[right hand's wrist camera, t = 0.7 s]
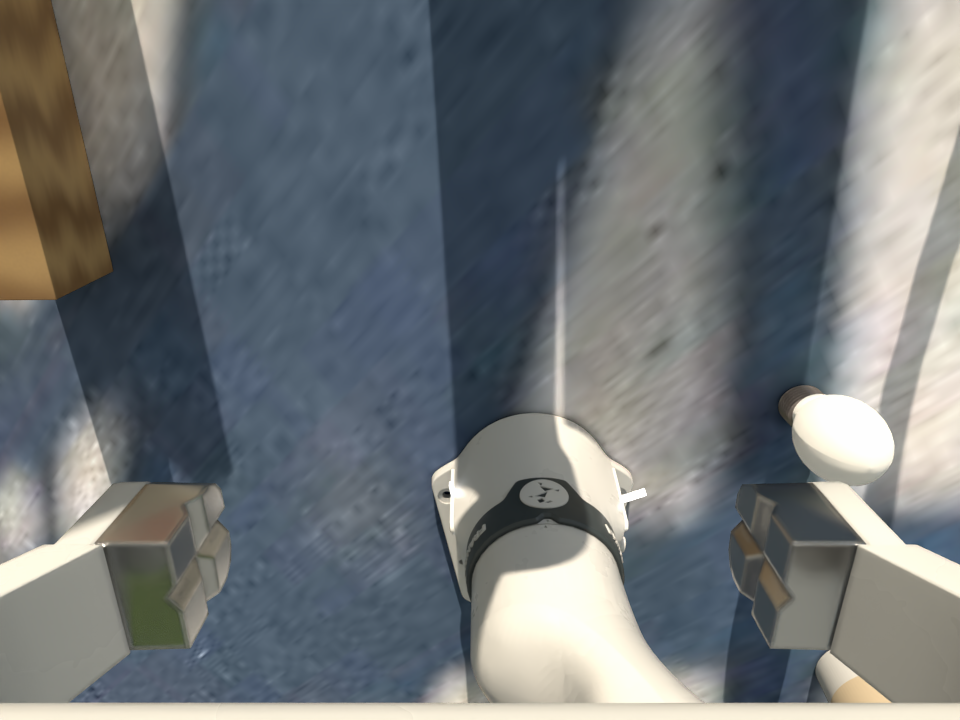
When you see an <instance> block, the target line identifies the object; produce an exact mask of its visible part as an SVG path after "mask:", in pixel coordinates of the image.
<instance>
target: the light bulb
mask: <svg viewBox="0 0 960 720" xmlns="http://www.w3.org/2000/svg"><path fill="white" fill-rule="evenodd" d="M778 408H779V412H780V414H781V416H782V417H783V418H784V419H785V420H786V421H787V422H788V423H789V425H790V426H791V427H792V440H793V444H794V447H795V450H796V452H797V454H798V455H799V457H800V459H801V460H802V462H803V463H804V464H805V465H806V466H807V467H808V468H809V469H810V470H811V471H812V472H813V473H815V474H816V475H818V476H819V477H821V478H823V479H825V480H826V481H829V482H835V481H840V482H842V483H845V484H847V485H849V486H861V485H866V484H869V483H871V482H873V481H875V480H877V479H878V478H880V477H881V476H882V475H883V474H884V473H885V472H886V471H887V470H888V468H889V467H890V465H891V463H892V461H893V457H894V441H893V437H892V433H891V431H890V429H889V427H888V425H887V424H886V422H885V420H884V419H883V418H882V417H881V416H880V415H879V414H878V413H877V412H876V411H875V410H874V409H873V408H871V407H870V406H868V405H867V404H865V403H864V402H862V401H859V400H857V399H854V398H851V397H848V396H842V395H824V394H823V393H822V392H821V391H820V390H819V389H817V388H815V387H813V386H808V385H802V386H797V387H794V388H792V389H790V390H788V391H787V392H786V393H785V394H784V395H783V396H782V397H781V399H780V401H779V406H778Z"/></svg>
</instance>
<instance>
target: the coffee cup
mask: <svg viewBox="0 0 960 720" xmlns="http://www.w3.org/2000/svg"><path fill="white" fill-rule="evenodd" d="M815 673H816V677H817V679H818V681H819V683H820V685H821V687H822V690H823V692H824V694H825V696H826V698H827V700H828V702H829V703H891V702H890V701H889V700H888V699H886V698H885V697H884V696H883V695H881V694H880V693H879V692H878V691H876V690H875V689H874V688H873V687H872V686H870V685H869V684H868V683H867V682H865V681H864V680H863V679H862V678H860V677H859V676H858V675H857V674H855V673H854V672H853V671H852V670H850V669H849V668H848V667H847V666H845V665H844V664H843V663H842V662H840V661H839V660H838V659H837V658H835V657H834V656H833V655H832V654H830V650H829V651H828V652H827V653H825V654H824V655H823V656H822V657H821V658H820V660H819V661H818V663H817V665H816V670H815Z"/></svg>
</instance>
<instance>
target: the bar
mask: <svg viewBox="0 0 960 720" xmlns="http://www.w3.org/2000/svg"><path fill="white" fill-rule="evenodd" d="M111 272H113V268H112V263H111V259H110V255H109V250H108V246H107V242H106V237H105V233H104V229H103V224H102V220H101V216H100V211H99V207H98V203H97V198H96V194H95V190H94V185H93V181H92V177H91V172H90V168H89V164H88V159H87V155H86V151H85V146H84V142H83V138H82V133H81V129H80V125H79V120H78V116H77V112H76V107H75V103H74V99H73V94H72V90H71V85H70V81H69V77H68V72H67V68H66V64H65V59H64V55H63V51H62V46H61V42H60V38H59V33H58V29H57V25H56V20H55V16H54V12H53V7H52V3H51V0H0V300H57V299H59V298H61V297H63V296H65V295H67V294H69V293H71V292H73V291H75V290H77V289H79V288H81V287H83V286H85V285H87V284H89V283H91V282H93V281H95V280H97V279H99V278H101V277H103V276H105V275H107V274H109V273H111Z"/></svg>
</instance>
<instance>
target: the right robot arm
mask: <svg viewBox="0 0 960 720" xmlns="http://www.w3.org/2000/svg"><path fill="white" fill-rule="evenodd" d="M632 487H633V479H632V475H631V473H630V472H629V471H628V470H627V469H626V468H625V467H623V466H622V465H620V464H619V463H617V462H615V461H613V460H612V459H610V458H609V457H608V456H607V455H606V454H605V453H604V451H603V450H602V448H601V447H600V446H599V444H598V443H597V441H596V440H595V439H594V438H593V437H592V436H591V435H590V434H589V433H588V432H587V431H586V430H585V429H583V428H582V427H580V426H579V425H577V424H576V423H574V422H572V421H570V420H567V419H565V418H562V417H559V416H555V415H550V414H543V413H526V414H518V415H513V416H510V417H506V418H503V419H501V420H498V421H496V422H494V423H492V424H490V425H489V426H487V427H486V428H484V429H483V430H481V431H480V432H479V433H478V434H477V435H475V436H474V437H473V438H472V439H471V441H470V442H469V443H468V444H467V446H466V447H465V448H464V450H463V451H462V452H461V454H460V455H459V456H458V457H457V458H456V459H455V460H453V461H452V462H450V463H448V464H446V465H445V466H443V467H441V468H440V469H438V470H437V471H436V472H435V473H434V474H433V476H432V490H433V493H434V497H435V500H436V504H437V508H438V511H439V515H440V519H441V522H442V526H443V529H444V533H445V537H446V540H447V544H448V547H449V551H450V555H451V558H452V562H453V566H454V569H455V573H456V576H457V580H458V584H459V587H460V591H461V594H462V596H463V598H464V599H466V600H468V601H470V602H471V652H470V656H471V665H472V669H473V673H474V676H475V678H476V681H477V683H478V685H479V687H480V689H481V690H482V692H483V694H484V695H485V697H486V698H487V700H488V701H489V702H490V703H69V702H70V701H71V700H72V699H74V698H75V697H76V696H77V695H79V694H80V693H81V692H82V691H84V690H85V689H86V688H87V687H89V686H90V685H91V684H92V683H94V682H95V681H96V680H97V679H99V678H100V677H101V676H102V675H104V674H105V673H106V672H107V671H109V670H110V669H111V668H112V667H114V666H115V665H116V664H117V663H119V662H120V661H121V660H122V659H124V658H125V657H126V656H127V655H129V654H130V650H151V649H186V648H191V646H192V644H193V642H194V640H195V638H196V637H197V635H198V633H199V631H200V629H201V627H202V625H203V623H204V622H205V620H206V618H207V616H208V608H207V603H206V601H208V600H209V599H211V598H212V597H214V596H215V595H217V594H218V593H220V591H221V589H222V587H223V585H224V583H225V581H226V579H227V576H228V571H229V567H230V562H231V541H230V534H229V531H228V530H227V529H226V528H225V527H224V526H223V525H222V524H221V523H220V522H219V521H218V520H217V519H218V518H219V516H220V514H221V513H222V511H223V509H224V508H225V506H224V501H223V496H222V492H221V489H220V488H219V487H218V486H217V485H216V484H215V483H178V482H152V483H151V482H119V483H115V484H112V485H111V486H110V488H109V489H108V490H107V491H106V492H105V493H104V494H103V495H102V496H101V497H100V498H99V499H98V500H97V501H96V502H95V503H94V504H93V505H92V506H91V507H90V508H89V509H88V510H87V511H86V512H85V513H84V514H83V515H82V517H81V518H80V519H79V520H78V521H77V522H76V523H75V524H74V525H73V526H72V527H71V528H70V529H69V530H68V531H67V532H66V533H65V534H64V535H63V536H62V537H61V538H60V539H59V540H58V541H57V542H56V543H55V544H54V545H42V546H40V547H38V548H35V549H33V550H31V551H29V552H27V553H25V554H22V555H20V556H18V557H16V558H14V559H12V560H10V561H7V562H5V563H3V564H1V565H0V720H960V565H959V564H957V563H955V562H953V561H950V560H948V559H946V558H944V557H942V556H940V555H937V554H935V553H933V552H931V551H929V550H927V549H925V548H922V547H920V546H918V545H906V544H905V543H904V542H903V541H902V540H901V539H900V538H899V537H898V536H897V535H896V534H895V533H894V532H893V531H892V530H891V529H890V528H889V527H888V526H887V525H886V524H885V523H884V522H883V521H882V520H881V518H880V517H879V516H878V515H877V514H876V513H875V512H874V511H873V510H872V509H871V508H870V507H869V506H868V505H867V504H866V503H865V502H864V501H863V500H862V499H861V498H860V497H859V496H858V495H857V494H856V493H855V491H854V490H853V489H852V488H851V487H850V486H849V485H847V484H845V483H842V482H840V481H835V482H808V483H777V484H742V486H741V488H740V490H739V492H738V495H737V500H736V505H735V508H736V509H737V511H738V513H739V514H740V516H741V518H742V519H743V520H742V521H741V522H740V523H739V524H738V525H737V526H736V527H735V528H734V529H733V530H732V531H731V535H730V542H729V560H730V569H731V572H732V575H733V579H734V581H735V583H736V585H737V587H738V589H739V591H740V593H742V594H743V595H745V596H746V597H748V598H749V599H751V600H752V601H754V603H753V608H752V616H753V618H754V620H755V622H756V623H757V625H758V627H759V629H760V631H761V633H762V635H763V636H764V638H765V640H766V642H767V644H768V646H769V648H772V649H808V650H830V654H832V655H833V656H834V657H835V658H837V659H838V660H839V661H840V662H842V663H843V664H844V665H845V666H847V667H848V668H849V669H850V670H852V671H853V672H854V673H855V674H857V675H858V676H859V677H860V678H862V679H863V680H864V681H865V682H867V683H868V684H869V685H870V686H872V687H873V688H874V689H875V690H876V691H878V692H879V693H880V694H881V695H883V696H884V697H885V698H886V699H888V700H889V701H890V702H891V703H705V702H703V701H702V700H701V699H700V698H698V697H697V696H696V695H695V694H694V693H692V692H691V691H690V690H689V689H688V688H686V687H685V686H684V685H683V684H682V683H681V682H680V681H679V680H678V679H677V678H676V677H675V676H674V675H673V674H672V673H671V672H670V671H669V670H668V669H667V668H666V667H665V666H664V665H663V664H662V663H661V661H660V660H659V659H658V658H657V657H656V655H655V654H654V653H653V652H652V650H651V649H650V647H649V646H648V644H647V643H646V641H645V639H644V638H643V636H642V634H641V631H640V629H639V627H638V624H637V622H636V620H635V617H634V614H633V612H632V609H631V607H630V604H629V601H628V598H627V595H626V592H625V589H624V586H623V585H624V568H623V564H622V563H623V558H622V553H623V552H624V551H625V547H626V540H625V537H623V535H624V532H625V531H627V530H628V520H627V515H626V511H625V508H626V505H627V502H628V501H631V500H634V499H637V498H640V497H644V496H647V495H646V492H645V490H644V489H640V490H637V491H634V492H631V490H632ZM445 491H449V492H450V494H448V495H447V494H444V493H443V492H445ZM621 552H622V553H621Z"/></svg>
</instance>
